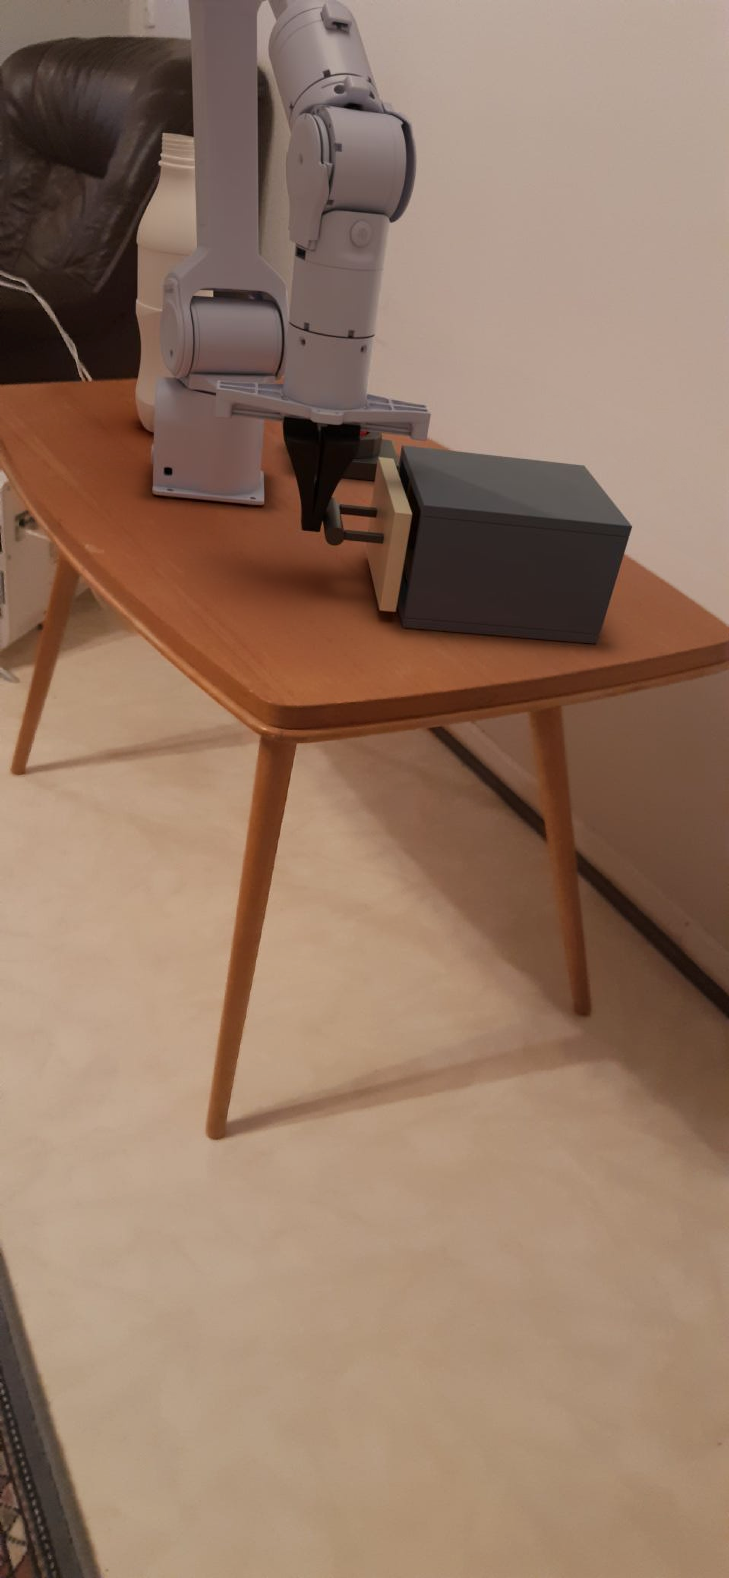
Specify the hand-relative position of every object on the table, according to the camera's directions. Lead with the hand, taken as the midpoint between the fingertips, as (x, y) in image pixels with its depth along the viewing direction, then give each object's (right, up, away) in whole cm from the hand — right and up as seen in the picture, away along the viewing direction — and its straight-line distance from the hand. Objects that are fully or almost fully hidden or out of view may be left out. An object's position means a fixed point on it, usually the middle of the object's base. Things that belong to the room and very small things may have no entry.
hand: (310, 526), depth 75 cm
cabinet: (+13, -4, +5) cm, 15 cm away
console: (+2, +13, +26) cm, 29 cm away
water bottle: (-15, +17, +28) cm, 36 cm away
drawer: (+9, -3, +3) cm, 10 cm away
